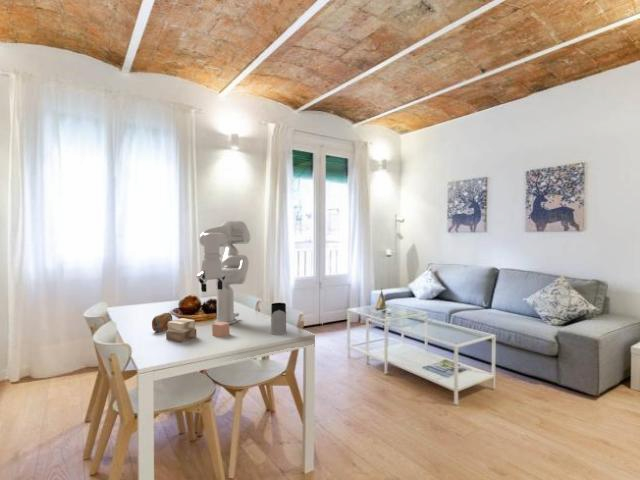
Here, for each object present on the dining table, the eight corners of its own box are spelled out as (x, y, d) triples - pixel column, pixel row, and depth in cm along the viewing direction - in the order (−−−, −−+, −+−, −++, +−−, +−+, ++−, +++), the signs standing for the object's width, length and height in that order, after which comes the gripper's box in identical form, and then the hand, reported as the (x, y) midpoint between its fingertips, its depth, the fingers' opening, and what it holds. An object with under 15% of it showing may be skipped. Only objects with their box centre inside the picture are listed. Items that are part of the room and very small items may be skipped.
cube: (220, 332, 198) (220, 321, 197) (229, 334, 195) (229, 322, 194) (212, 335, 192) (212, 324, 192) (221, 337, 189) (221, 325, 189)
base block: (182, 335, 194) (182, 326, 194) (196, 337, 190) (196, 328, 189) (166, 340, 186) (166, 331, 186) (180, 343, 181) (180, 333, 181)
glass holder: (270, 335, 192) (270, 306, 192) (269, 328, 206) (269, 300, 206) (287, 334, 194) (287, 305, 193) (285, 327, 208) (285, 300, 207)
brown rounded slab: (156, 333, 196) (155, 317, 196) (150, 333, 197) (150, 317, 196) (173, 326, 211) (172, 311, 211) (168, 325, 211) (167, 311, 211)
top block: (182, 326, 194) (182, 318, 193) (195, 329, 189) (194, 320, 189) (167, 331, 186) (167, 321, 185) (180, 333, 181) (180, 324, 181)
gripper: (221, 256, 202) (221, 287, 203) (192, 257, 189) (193, 291, 189) (230, 256, 198) (230, 289, 198) (201, 258, 184) (201, 293, 184)
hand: (212, 290), depth 194 cm, fingers open, 9 cm apart
